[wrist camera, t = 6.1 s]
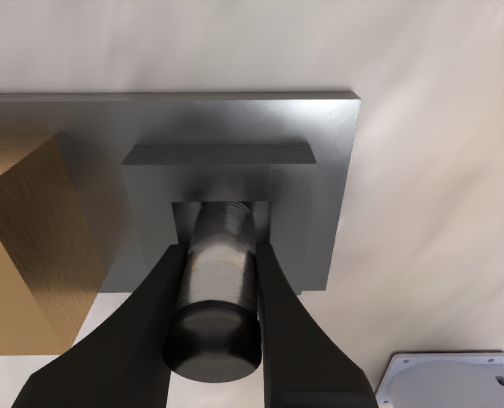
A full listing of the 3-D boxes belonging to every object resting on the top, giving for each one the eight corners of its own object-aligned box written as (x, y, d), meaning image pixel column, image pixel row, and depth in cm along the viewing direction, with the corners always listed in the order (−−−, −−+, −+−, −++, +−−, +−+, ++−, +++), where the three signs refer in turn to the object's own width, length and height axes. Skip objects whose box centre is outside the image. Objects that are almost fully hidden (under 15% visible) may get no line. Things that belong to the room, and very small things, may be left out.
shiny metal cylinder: (256, 196, 15) (261, 326, 9) (257, 246, 17) (262, 381, 11) (189, 198, 15) (152, 329, 9) (197, 248, 17) (171, 384, 11)
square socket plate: (353, 91, 14) (412, 148, 9) (321, 276, 21) (345, 368, 16) (-90, 94, 14) (-281, 153, 9) (21, 279, 21) (-53, 372, 16)
